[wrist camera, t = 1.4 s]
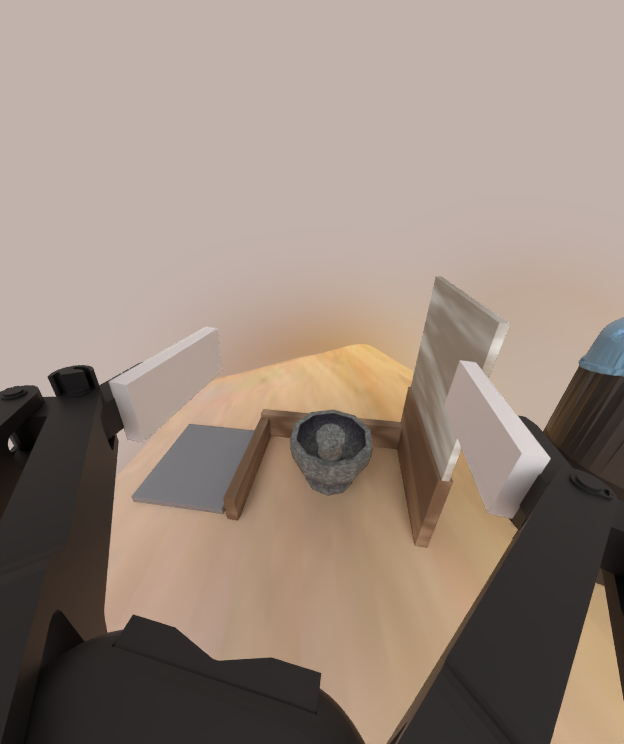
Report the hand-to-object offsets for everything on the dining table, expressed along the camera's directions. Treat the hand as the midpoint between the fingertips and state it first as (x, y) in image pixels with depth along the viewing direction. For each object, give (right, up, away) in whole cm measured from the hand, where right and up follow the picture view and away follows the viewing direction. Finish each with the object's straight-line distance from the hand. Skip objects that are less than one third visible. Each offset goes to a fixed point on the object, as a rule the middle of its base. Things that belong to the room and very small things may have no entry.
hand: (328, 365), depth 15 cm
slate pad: (-16, -13, +22) cm, 30 cm away
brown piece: (+1, -14, +20) cm, 25 cm away
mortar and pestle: (+1, -14, +20) cm, 25 cm away
